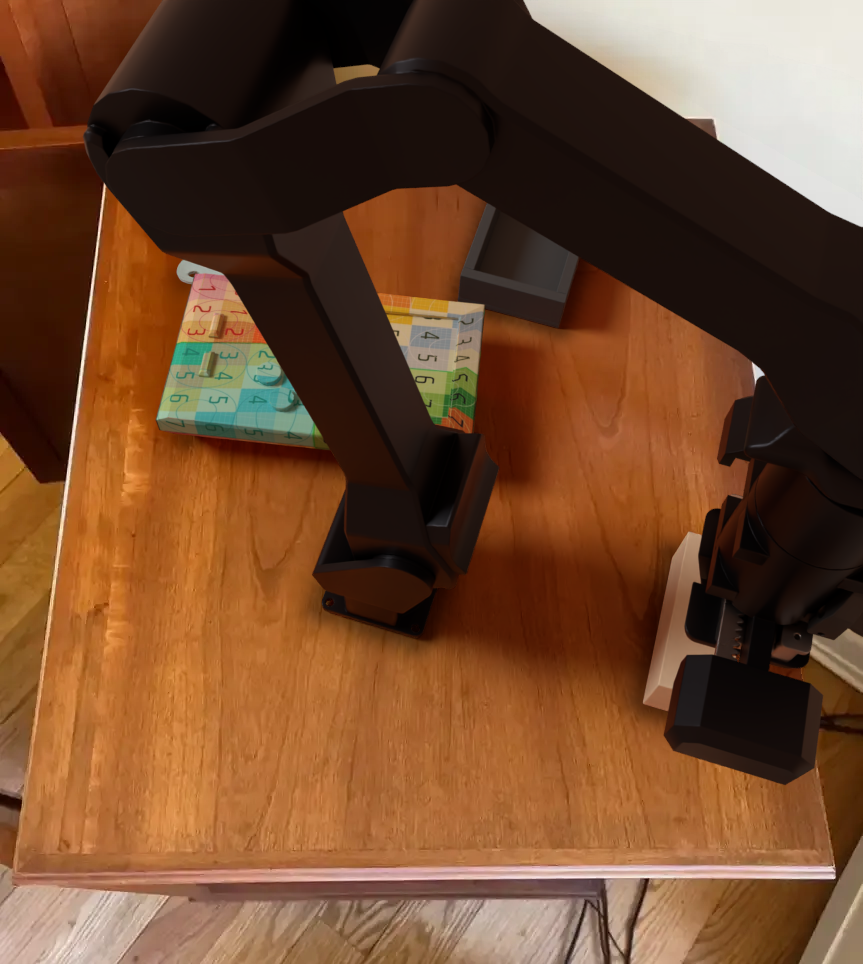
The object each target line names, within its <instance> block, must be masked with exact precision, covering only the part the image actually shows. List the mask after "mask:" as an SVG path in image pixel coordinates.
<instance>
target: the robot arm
mask: <svg viewBox="0 0 863 964" xmlns="http://www.w3.org/2000/svg"><path fill="white" fill-rule="evenodd" d="M359 66H372V67H375V68H377V69H378V71H377V73H376V74H375V75H368V76H367V75H366V76H358V77H353V78H350V79H346V80H343V81H341V82H338V83H337V80H336V75H335V70H334V69H343V68H350V67H359ZM86 124H87V125H86V129H85V131H84V132H83V135H82V138H83V144H84V149H85V152H86V154H87V156H88V159H89V161H90V163H91V165H92V167H93V168H94V171H95V173H96V174H97V175H98V177H99V179H100V180H101V181H102V183H103V184H104V185H105V186H106V188H107V189H108V190H109V192H110V193H111V194H112V195H113V196H114V198H115V199H116V200H117V201H118V202H119V204H120V205H121V206H122V207H123V208H124V209H125V211H126V212H127V213H128V214H129V215H130V216H131V217H132V219H133V220H134V221H135V222H136V224H137V225H138V226H139V227H140V228H141V229H142V230H143V232H144V233H145V234H146V235H147V237H149V239H150V240H151V241H152V242H153V244H154V245H155V246H156V247H157V248H158V250H160V251H161V252H162V253H164V254H166V255H168V256H171V257H174V258H177V259H180V260H185V261H188V262H191V263H194V264H197V265H200V266H203V267H206V268H209V269H212V270H215V271H218V272H220V273H222V274H224V276H225V277H226V278H227V279H228V281H229V282H230V283H231V285H232V286H233V288H234V289H235V291H236V293H237V294H238V296H239V298H240V300H241V301H242V303H243V305H244V306H245V308H246V310H247V311H248V313H249V315H250V316H251V318H252V320H253V321H254V323H255V325H256V326H257V328H258V330H259V331H260V333H261V335H262V336H263V338H264V340H265V341H266V343H267V345H268V346H269V348H270V350H271V352H272V353H273V355H274V357H275V358H276V360H277V362H278V363H279V365H280V367H281V368H282V370H283V372H284V373H285V375H286V377H287V378H288V380H289V382H290V383H291V385H292V387H293V388H294V390H295V392H296V393H297V395H298V397H299V398H300V400H301V402H302V403H303V405H304V407H305V409H306V410H307V412H308V414H309V415H310V417H311V419H312V420H313V422H314V424H315V425H316V427H317V429H318V430H319V432H320V434H321V435H322V437H323V439H324V440H325V442H326V444H327V445H328V447H329V449H330V450H329V451H330V452H331V454H332V456H333V457H334V459H335V460H336V462H337V464H338V466H339V467H340V469H341V471H342V472H343V475H344V478H345V484H344V485H345V486H344V487H345V488H344V491H343V493H342V496H341V499H340V501H339V504H338V506H337V509H336V511H335V514H334V517H333V519H332V522H331V525H330V527H329V530H328V531H327V535H326V537H325V540H324V542H323V545H322V547H321V549H320V552H319V555H318V558H317V561H316V563H315V565H314V568H313V570H312V573H311V575H312V577H313V578H314V580H315V581H316V582H317V583H318V584H319V585H320V586H321V588H322V589H323V590H324V593H323V596H322V598H321V607H322V609H323V610H324V611H325V612H327V613H331V614H333V615H337V616H339V617H344V618H346V619H350V620H354V621H356V622H360V623H363V624H365V625H370V626H373V627H377V628H380V629H383V630H386V631H390V632H392V633H396V634H400V635H403V636H406V637H409V638H412V639H418V638H420V637H422V636H423V634H424V632H425V628H426V625H427V623H428V620H429V617H430V613H431V610H432V607H433V603H434V601H435V598H436V595H437V592H438V589H442V588H443V589H445V590H447V591H449V590H453V589H455V588H456V586H457V584H458V581H459V578H460V575H461V576H467V574H468V570H469V568H470V565H471V562H472V558H473V555H474V553H475V548H476V545H477V542H478V539H479V536H480V533H481V529H482V527H483V523H484V519H485V516H486V514H487V510H488V507H489V503H490V501H491V497H492V493H493V490H494V488H495V484H496V481H497V478H498V476H499V475H498V474H499V472H500V466H499V465H498V464H497V463H496V462H495V461H494V460H493V459H492V457H491V455H489V452H488V451H487V445H486V444H487V443H486V435H485V433H482V432H481V433H480V432H474V433H465V432H464V431H463V430H459V429H455V428H450V427H445V426H440V425H435V424H434V423H433V421H432V419H431V417H430V415H429V412H428V410H427V408H426V405H425V403H424V401H423V398H422V396H421V394H420V391H419V389H418V387H417V384H416V382H415V380H414V377H413V375H412V373H411V370H410V368H409V366H408V363H407V361H406V359H405V357H404V354H403V352H402V350H401V347H400V345H399V343H398V340H397V338H396V336H395V333H394V331H393V329H392V326H391V324H390V322H389V319H388V317H387V315H386V312H385V310H384V308H383V305H382V303H381V301H380V298H379V296H378V294H377V293H378V291H377V289H376V287H375V285H374V282H373V280H372V277H371V275H370V272H369V271H368V268H367V266H366V263H365V261H364V259H363V257H362V254H361V252H360V250H359V246H358V245H357V243H356V240H355V238H354V235H353V233H352V231H351V229H350V227H349V224H348V221H347V219H346V217H345V214H344V212H345V211H347V210H350V209H352V208H354V207H356V206H359V205H362V204H363V203H366V202H368V201H372V200H373V199H375V198H378V197H380V196H382V195H384V194H387V193H389V192H391V191H395V190H403V189H404V190H405V189H422V188H423V189H424V188H425V189H426V188H444V187H445V188H446V187H451V186H457V187H459V188H461V189H463V190H465V192H467V193H469V194H471V195H473V196H475V197H476V198H478V199H480V200H481V201H483V202H484V203H486V204H487V203H488V204H490V205H491V206H493V207H495V208H496V209H498V210H500V211H502V212H503V213H505V214H507V215H508V216H510V217H512V218H513V219H515V220H517V221H519V222H520V223H522V224H524V225H525V226H527V227H529V228H530V229H532V230H534V231H535V232H537V233H539V234H541V235H542V236H544V237H546V238H547V239H549V240H551V241H552V242H554V243H556V244H558V245H559V246H561V247H563V248H564V249H566V250H568V251H569V252H571V253H573V254H574V255H576V256H578V257H580V259H581V260H583V261H584V262H586V263H588V264H590V265H592V266H593V267H595V268H597V269H598V270H600V271H602V272H603V273H605V274H607V275H608V276H610V277H612V278H614V279H615V280H617V281H619V282H620V283H622V284H624V285H625V286H627V287H629V288H630V289H632V290H634V291H635V292H638V293H639V294H641V295H642V296H644V297H645V298H647V299H648V300H651V301H652V302H654V303H656V304H657V305H659V306H661V307H663V308H665V310H667V311H669V312H671V313H673V314H675V315H676V316H677V317H679V318H681V319H682V320H685V321H686V322H688V323H690V324H691V325H693V326H694V327H697V328H698V329H700V330H701V331H703V332H705V333H707V334H708V335H710V336H712V337H714V338H715V339H717V340H719V341H720V342H722V343H724V344H725V345H727V346H729V347H731V348H732V349H734V350H735V351H737V352H738V353H740V354H741V355H742V356H744V357H745V358H746V359H747V360H748V361H750V363H752V364H753V365H754V366H756V367H757V368H758V369H759V370H760V371H761V372H762V374H763V375H761V376H759V377H757V379H756V380H755V385H754V391H753V394H752V395H747V396H744V397H741V398H737V399H735V400H734V401H733V403H732V405H731V407H730V409H729V410H728V412H727V414H726V415H725V417H724V420H723V425H722V430H721V436H720V441H719V446H718V450H717V456H716V460H717V463H718V464H719V465H721V466H725V467H728V468H731V467H732V465H733V463H734V462H735V460H741V461H744V462H748V463H747V464H748V465H747V470H746V476H745V481H744V488H743V493H742V495H739V494H736V493H731V494H727V495H726V497H725V499H724V500H723V501H722V503H721V506H720V508H719V507H715V508H711V509H710V510H708V511H707V513H706V514H705V517H704V522H703V527H702V532H701V535H702V537H701V542H700V547H699V552H698V562H699V572H700V580H701V583H697V582H693V584H692V589H691V594H690V599H689V604H688V609H687V614H686V620H685V626H684V628H685V633H686V635H687V637H688V638H689V639H690V640H691V641H693V642H695V643H699V644H702V645H706V646H709V647H712V648H715V652H714V655H713V654H704V655H686V657H685V658H684V659H683V660H682V661H681V663H680V666H679V669H678V672H677V675H676V677H675V680H674V683H673V688H672V694H671V699H670V704H669V709H668V711H667V714H666V720H665V725H664V730H663V737H664V739H665V741H666V743H668V745H669V747H670V748H671V751H673V752H675V753H678V754H682V755H685V756H688V757H691V758H695V759H698V760H701V761H705V762H708V763H711V764H715V765H718V766H721V767H723V768H728V769H731V770H734V771H737V772H740V773H744V774H747V775H750V776H754V777H757V778H760V779H763V780H767V781H770V782H773V783H777V784H780V785H782V786H786V785H789V784H790V783H792V782H793V781H795V780H797V779H798V778H800V777H802V776H804V775H806V774H808V773H809V772H811V771H812V770H813V769H815V767H816V758H817V750H818V743H819V736H820V735H819V734H820V727H821V719H822V718H821V717H822V710H823V709H822V708H823V703H824V694H823V693H822V692H820V691H819V690H818V689H817V688H816V687H815V686H814V685H813V684H812V683H811V682H808V681H804V680H801V679H797V678H794V677H790V676H787V675H783V674H781V673H777V672H774V671H770V666H774V667H777V668H780V669H787V670H797V669H798V670H799V669H803V668H805V667H806V666H807V665H808V664H809V661H810V657H811V651H812V649H813V648H812V646H813V641H814V636H818V637H821V638H823V639H828V640H831V641H835V640H836V639H838V638H839V637H840V636H841V635H843V634H844V633H845V632H846V631H847V630H850V631H851V632H853V634H856V635H857V636H860V637H861V638H863V226H861V225H858V224H856V223H854V222H852V221H849V220H847V219H845V218H843V217H840V216H838V215H836V214H834V213H831V212H830V211H828V210H826V209H825V208H823V207H822V206H820V205H819V204H817V203H816V202H814V201H813V200H811V199H809V198H808V197H806V196H805V195H803V194H802V193H800V192H799V191H798V190H795V189H794V188H793V187H791V186H789V185H788V184H787V183H785V182H784V181H782V180H780V179H779V178H777V177H775V176H774V175H772V174H771V173H770V172H768V171H767V170H765V169H764V168H762V167H760V166H759V165H757V164H756V163H754V162H753V161H751V159H748V158H747V157H745V156H744V155H742V154H741V153H740V152H738V151H736V150H734V149H733V148H731V147H730V146H728V145H727V144H726V143H724V142H722V141H721V140H719V139H717V138H716V137H715V136H713V135H712V134H710V133H709V132H707V131H705V130H703V129H702V128H701V127H699V126H697V125H696V124H694V123H693V122H691V121H690V120H689V119H687V118H686V117H684V116H683V115H681V114H679V113H678V112H676V111H675V110H673V109H671V108H670V107H668V106H667V105H665V104H664V103H662V102H661V101H659V100H658V99H656V98H655V97H653V96H652V95H650V94H648V93H647V92H646V91H644V90H643V89H641V88H639V87H638V86H636V85H634V84H633V83H631V81H629V80H627V79H625V78H624V77H622V76H621V75H619V74H618V73H617V72H615V71H613V70H611V69H610V68H608V67H607V66H605V64H602V63H601V62H599V61H598V60H596V59H595V58H593V57H592V56H590V55H589V54H587V53H586V52H584V51H582V50H581V49H580V48H578V47H576V46H575V45H573V44H572V43H570V42H569V41H567V40H565V38H562V37H561V36H560V35H558V34H556V33H555V32H553V31H552V30H550V29H549V28H547V27H545V26H544V25H542V24H541V23H539V22H538V21H536V20H535V19H534V18H533V17H532V14H531V12H530V10H529V9H528V6H527V4H526V2H525V0H161V1H160V4H159V5H157V8H156V9H155V11H154V12H153V14H152V15H151V17H150V19H148V21H147V22H146V25H145V26H144V27H143V29H142V30H141V32H140V33H139V34H138V37H137V38H136V40H135V41H134V42H133V44H132V46H131V47H130V49H129V50H128V52H127V53H126V55H125V57H123V59H122V61H121V62H120V64H119V66H118V67H117V69H116V70H115V72H114V73H113V74H112V75H111V78H110V79H109V81H108V82H107V84H106V85H105V86H104V88H103V90H102V92H101V93H100V94H99V96H98V97H97V99H96V100H95V102H94V104H93V105H92V108H91V111H90V114H89V116H88V120H87V122H86ZM329 601H331V602H333V603H332V605H329V604H328V605H327V603H328V602H329ZM414 627H417V628H418V631H414V630H413V628H414ZM733 656H736V658H734V657H733ZM737 656H738V658H737Z"/></svg>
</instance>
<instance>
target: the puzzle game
mask: <svg viewBox="0 0 863 964" xmlns="http://www.w3.org/2000/svg"><path fill="white" fill-rule="evenodd" d="M193 277H194V278H193V281H192V284H190V285H191V286H190V289H189V292H188V297H187V300H186V304H185V309H184V311H183V315H182V319H181V323H180V327H179V331H178V334H177V338H176V342H175V346H174V349H173V353H172V357H171V361H170V365H169V368H168V372H167V375H166V379H165V382H164V387H163V390H162V394H161V398H160V401H159V406H158V409H157V413H156V417H155V422H156V423H155V424H156V425H157V428H158V430H159V431H162V432H167V433H170V434H176V435H183V436H184V435H185V436H192V437H203V438H212V439H220V440H221V439H222V440H230V441H240V442H248V443H249V442H250V443H259V444H268V445H277V446H278V445H279V446H286V447H295V448H296V447H297V448H306V449H315V450H323V451H331V450H330V449H329V447H328V445H327V444H326V442H325V440H324V439H323V437H322V435H321V434H320V432H319V430H318V429H317V427H316V425H315V424H314V422H313V420H312V419H311V417H310V415H309V414H308V412H307V410H306V409H305V407H304V405H303V403H302V402H301V400H300V398H299V397H298V395H297V393H296V392H295V390H294V388H293V387H292V385H291V383H290V382H289V380H288V378H287V377H286V375H285V373H284V372H283V370H282V368H281V367H280V365H279V363H278V362H277V360H276V358H275V357H274V355H273V353H272V352H271V350H270V348H269V346H268V345H267V343H266V341H265V340H264V338H263V336H262V335H261V333H260V331H259V330H258V328H257V326H256V325H255V323H254V321H253V320H252V318H251V316H250V315H249V313H248V311H247V310H246V308H245V306H244V305H243V303H242V301H241V300H240V298H239V296H238V294H237V293H236V291H235V289H234V288H233V286H232V285H231V283H230V282H229V281H228V279H227V278H226V277H225V276H224V275H216V274H207V273H203V274H193ZM377 294H378V296H379V298H380V301H381V303H382V305H383V308H384V310H385V312H386V315H387V317H388V319H389V322H390V324H391V326H392V329H393V331H394V333H395V336H396V338H397V340H398V343H399V345H400V347H401V350H402V352H403V354H404V357H405V359H406V361H407V363H408V366H409V368H410V370H411V373H412V375H413V377H414V380H415V382H416V384H417V387H418V389H419V391H420V394H421V396H422V398H423V401H424V403H425V405H426V408H427V410H428V412H429V415H430V417H431V419H432V421H433V423H434V424H435V425H440V426H445V427H450V428H455V429H459V430H463V431H464V432H465V433H475V431H474V430H475V421H476V410H477V400H478V399H477V398H478V390H479V389H478V388H479V379H480V368H481V357H482V348H483V347H482V346H483V335H484V324H485V315H486V314H485V313H486V309H485V305H482V304H473V303H463V302H458V301H453V300H444V299H443V300H442V299H435V298H425V297H416V296H409V295H400V294H399V295H398V294H391V293H383V292H382V293H381V292H377Z"/></svg>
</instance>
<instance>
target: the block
mask: <svg viewBox="0 0 863 964" xmlns="http://www.w3.org/2000/svg"><path fill="white" fill-rule="evenodd" d="M701 537H702V534H699V533H696V532H693V531H688V532H687V534H686V535H685V536H684V538H683V540H682V541H681V542H680V545H679V546H678V548H677V549H676V551H675V553H674V554H673V555H672V557H671V561H670V567H669V572H668V576H667V581H666V587H665V592H664V597H663V600H662V601H663V602H662V605H661V610H660V616H659V621H658V626H657V631H656V635H655V636H656V637H655V641H654V646H653V651H652V654H651V655H652V656H651V661H650V665H649V670H648V675H647V680H646V686H645V690H644V694H643V700H642V704H643V705H645V706H648V707H652V708H655V709H659V710H663V711H666V712H668V709H669V704H670V699H671V694H672V688H673V683H674V680H675V677H676V675H677V672H678V669H679V666H680V663H681V661H682V660H683V659H684V658H685V657H686V655H704V654H713V655H714V652H715V648H712V647H709V646H706V645H702V644H699V643H695V642H693V641H691V640H690V639H689V638H688V637H687V635H686V633H685V628H684V626H685V620H686V614H687V609H688V604H689V599H690V594H691V589H692V584H693V582H697V583H701V580H700V572H699V562H698V552H699V547H700V542H701ZM733 657H734V658H736V659H737V656H733Z"/></svg>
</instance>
